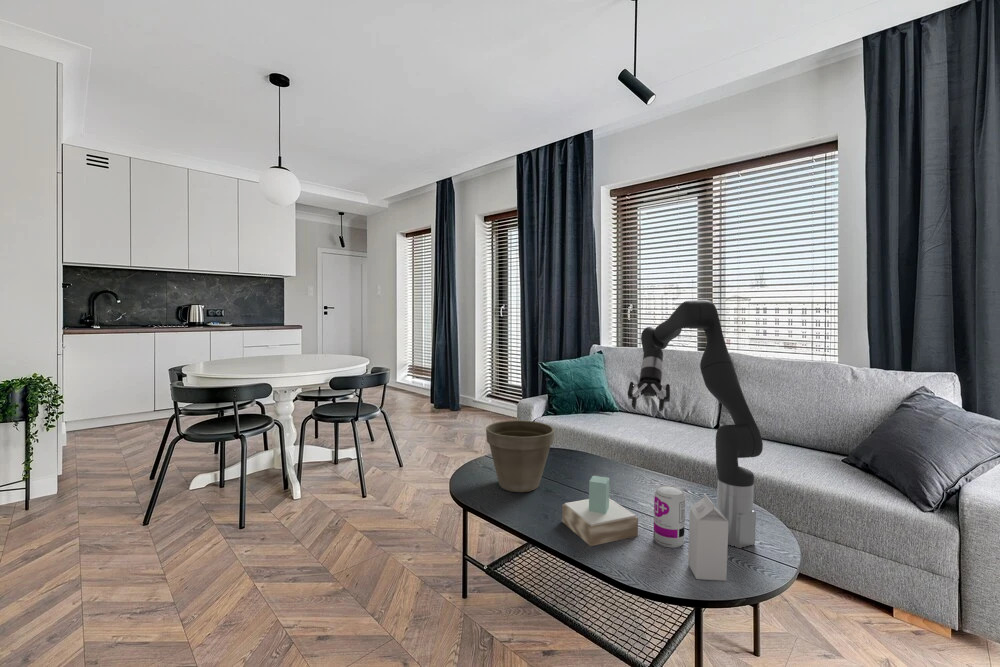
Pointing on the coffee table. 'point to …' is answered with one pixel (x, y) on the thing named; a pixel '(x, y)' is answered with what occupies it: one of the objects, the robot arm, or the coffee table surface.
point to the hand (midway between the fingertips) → (647, 409)
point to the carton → (599, 494)
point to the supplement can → (669, 516)
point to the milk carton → (707, 541)
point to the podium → (599, 522)
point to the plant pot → (519, 452)
